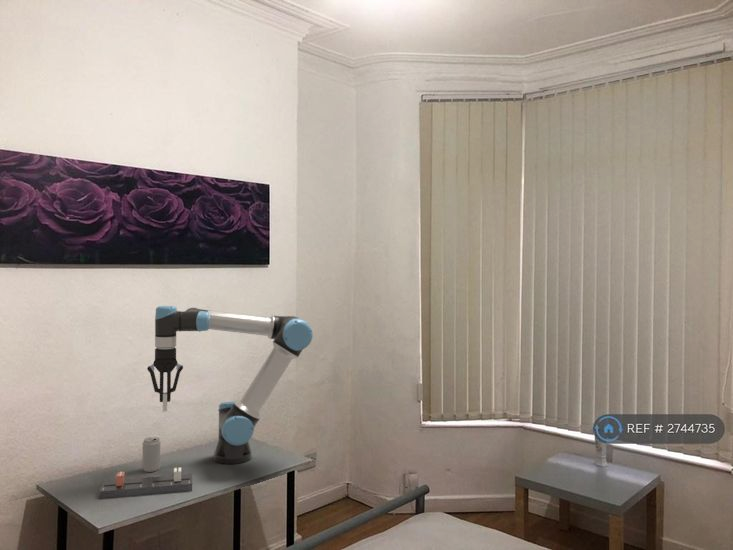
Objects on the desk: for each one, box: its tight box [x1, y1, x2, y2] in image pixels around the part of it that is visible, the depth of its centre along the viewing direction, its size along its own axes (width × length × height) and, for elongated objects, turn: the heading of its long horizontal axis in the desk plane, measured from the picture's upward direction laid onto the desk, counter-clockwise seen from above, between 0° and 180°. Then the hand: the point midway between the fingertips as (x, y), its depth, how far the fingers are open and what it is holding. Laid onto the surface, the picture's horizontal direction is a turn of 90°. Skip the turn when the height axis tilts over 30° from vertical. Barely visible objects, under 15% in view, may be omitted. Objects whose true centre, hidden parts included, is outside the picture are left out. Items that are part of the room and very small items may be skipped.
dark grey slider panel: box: [98, 473, 193, 500], centre depth 211 cm, size 30×10×3 cm, turn 106°
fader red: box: [115, 471, 126, 486], centre depth 209 cm, size 2×4×4 cm, turn 16°
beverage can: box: [142, 436, 161, 473], centre depth 231 cm, size 6×6×12 cm
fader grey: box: [173, 466, 182, 482], centre depth 214 cm, size 2×4×4 cm, turn 16°
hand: (165, 410), depth 225 cm, fingers closed
